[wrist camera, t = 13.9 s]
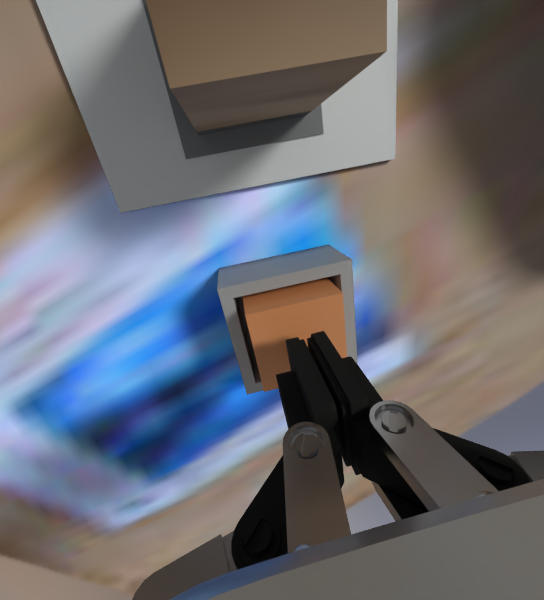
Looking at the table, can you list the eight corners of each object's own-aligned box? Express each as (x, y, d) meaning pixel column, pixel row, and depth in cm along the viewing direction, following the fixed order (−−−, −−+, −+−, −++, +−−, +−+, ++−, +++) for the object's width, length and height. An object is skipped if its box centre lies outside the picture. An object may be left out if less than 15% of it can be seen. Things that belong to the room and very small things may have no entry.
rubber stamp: (159, -19, 10) (51, -345, 4) (289, -38, 10) (387, -367, 4) (198, 135, 12) (170, 88, 6) (305, 115, 13) (387, 51, 6)
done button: (242, 295, 14) (245, 315, 12) (326, 276, 14) (342, 292, 12) (259, 364, 16) (264, 391, 14) (332, 346, 16) (348, 370, 14)
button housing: (218, 268, 15) (217, 289, 12) (328, 244, 16) (351, 259, 13) (243, 359, 18) (247, 394, 15) (336, 337, 18) (357, 366, 15)
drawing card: (1, -94, 9) (-7, -105, 9) (395, -141, 10) (401, -153, 10) (122, 212, 13) (119, 213, 13) (392, 159, 14) (396, 158, 14)
